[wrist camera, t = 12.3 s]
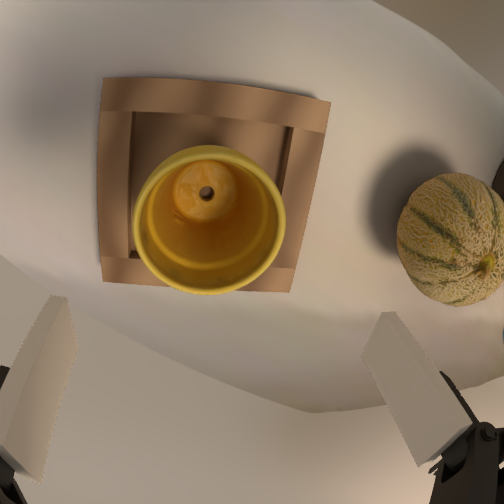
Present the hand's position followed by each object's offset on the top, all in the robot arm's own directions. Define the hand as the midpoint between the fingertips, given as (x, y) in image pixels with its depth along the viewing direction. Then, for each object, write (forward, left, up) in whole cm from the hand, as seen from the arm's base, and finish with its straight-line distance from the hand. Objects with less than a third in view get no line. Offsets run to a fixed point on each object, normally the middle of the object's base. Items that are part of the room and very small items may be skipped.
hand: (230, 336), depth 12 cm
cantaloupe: (-26, 0, -21) cm, 33 cm away
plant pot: (+1, 0, -19) cm, 19 cm away
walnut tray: (+1, 0, -21) cm, 21 cm away
